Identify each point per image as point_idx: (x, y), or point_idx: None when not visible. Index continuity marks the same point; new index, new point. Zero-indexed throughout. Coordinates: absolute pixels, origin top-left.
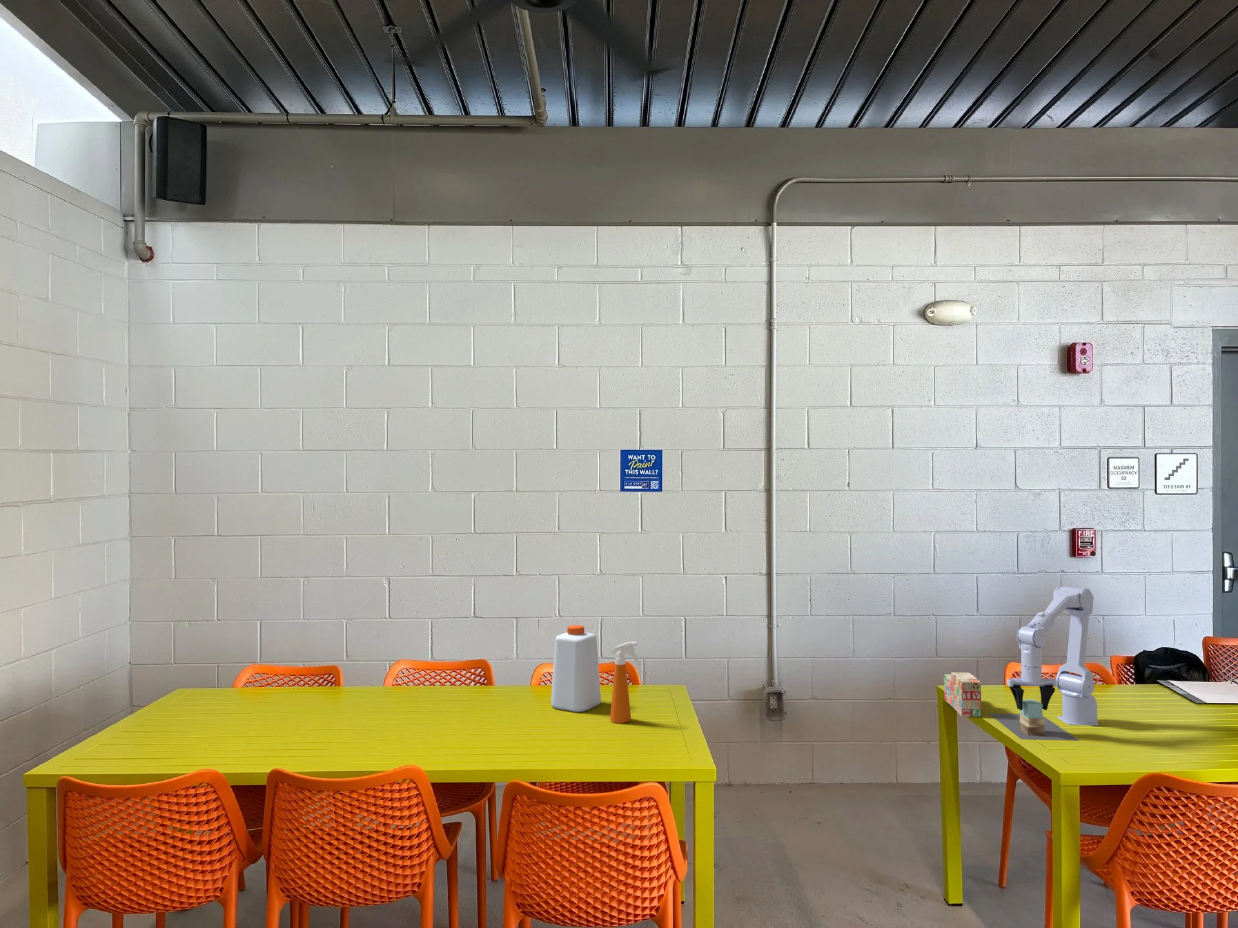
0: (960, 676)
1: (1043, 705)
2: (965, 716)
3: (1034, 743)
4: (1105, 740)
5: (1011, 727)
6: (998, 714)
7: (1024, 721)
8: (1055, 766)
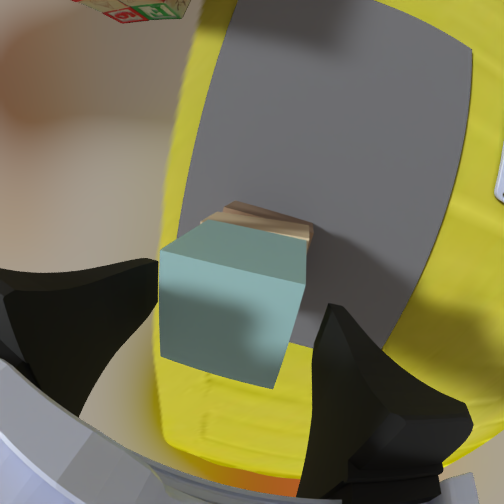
0: None
1: (319, 345)
2: (130, 20)
3: None
4: (450, 360)
5: (215, 159)
6: None
7: None
8: (165, 430)
